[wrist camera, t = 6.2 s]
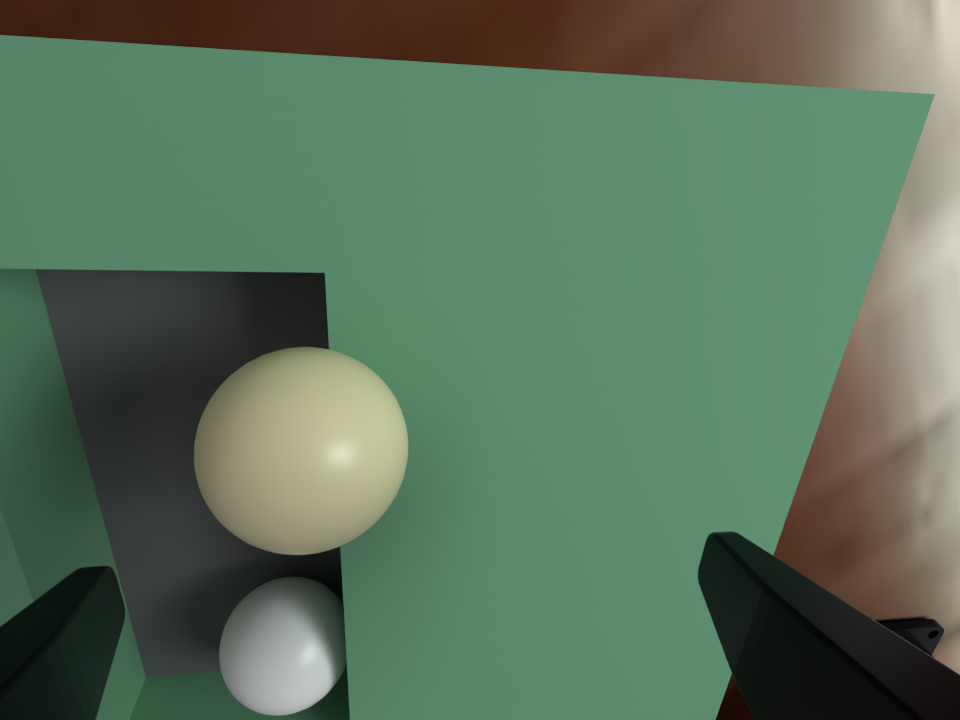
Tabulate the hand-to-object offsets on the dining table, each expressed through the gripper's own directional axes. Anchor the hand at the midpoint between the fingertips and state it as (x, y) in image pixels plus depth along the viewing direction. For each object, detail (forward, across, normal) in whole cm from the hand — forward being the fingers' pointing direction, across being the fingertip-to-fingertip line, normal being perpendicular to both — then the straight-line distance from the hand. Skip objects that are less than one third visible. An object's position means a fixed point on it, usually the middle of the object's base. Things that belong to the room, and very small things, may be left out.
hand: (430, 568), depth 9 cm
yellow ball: (+3, +2, 0) cm, 4 cm away
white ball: (+7, +4, +10) cm, 13 cm away
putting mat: (+9, 0, +4) cm, 10 cm away
